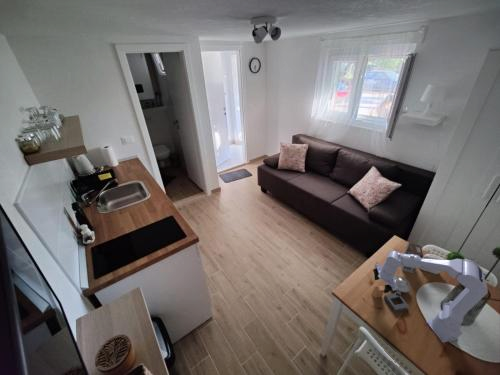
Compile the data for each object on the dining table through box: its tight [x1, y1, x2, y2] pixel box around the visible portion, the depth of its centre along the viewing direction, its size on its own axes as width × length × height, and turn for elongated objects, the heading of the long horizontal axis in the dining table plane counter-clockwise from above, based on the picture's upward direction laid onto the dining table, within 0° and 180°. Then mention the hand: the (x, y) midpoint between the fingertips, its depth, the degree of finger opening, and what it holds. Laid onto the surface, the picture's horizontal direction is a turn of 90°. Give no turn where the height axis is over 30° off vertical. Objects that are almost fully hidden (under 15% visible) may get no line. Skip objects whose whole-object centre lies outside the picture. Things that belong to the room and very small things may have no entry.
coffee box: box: [400, 242, 424, 274], centre depth 131 cm, size 9×6×16 cm
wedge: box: [371, 285, 385, 299], centre depth 119 cm, size 2×4×7 cm, turn 99°
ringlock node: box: [383, 275, 412, 313], centre depth 119 cm, size 17×17×7 cm
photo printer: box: [419, 253, 446, 275], centre depth 129 cm, size 10×4×12 cm, turn 61°
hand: (381, 285), depth 116 cm, fingers open, 7 cm apart
